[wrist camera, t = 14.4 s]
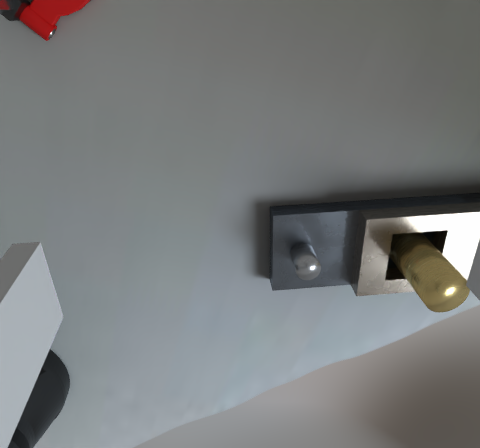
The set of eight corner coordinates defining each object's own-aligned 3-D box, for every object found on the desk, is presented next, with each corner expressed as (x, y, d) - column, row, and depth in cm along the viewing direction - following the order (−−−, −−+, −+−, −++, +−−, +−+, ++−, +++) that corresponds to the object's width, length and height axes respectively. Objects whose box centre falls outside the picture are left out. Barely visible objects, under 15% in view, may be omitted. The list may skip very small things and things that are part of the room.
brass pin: (377, 253, 46) (420, 314, 37) (382, 221, 44) (428, 277, 35) (413, 250, 46) (464, 310, 37) (419, 218, 44) (474, 273, 35)
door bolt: (269, 279, 46) (280, 322, 40) (270, 206, 42) (281, 242, 36) (494, 262, 48) (538, 301, 41) (517, 190, 43) (569, 222, 37)
